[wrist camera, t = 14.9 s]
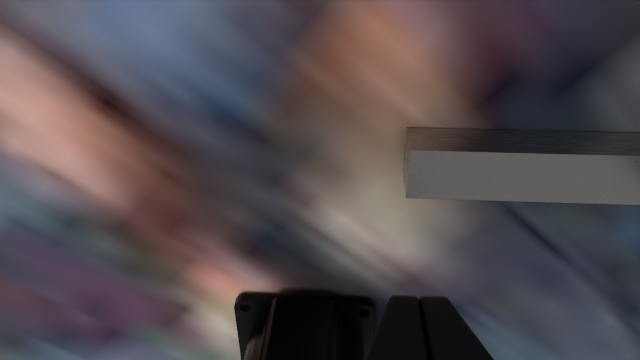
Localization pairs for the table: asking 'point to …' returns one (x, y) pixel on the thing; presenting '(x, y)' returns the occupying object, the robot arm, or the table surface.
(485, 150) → the press bed
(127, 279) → the table surface
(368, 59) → the table surface
